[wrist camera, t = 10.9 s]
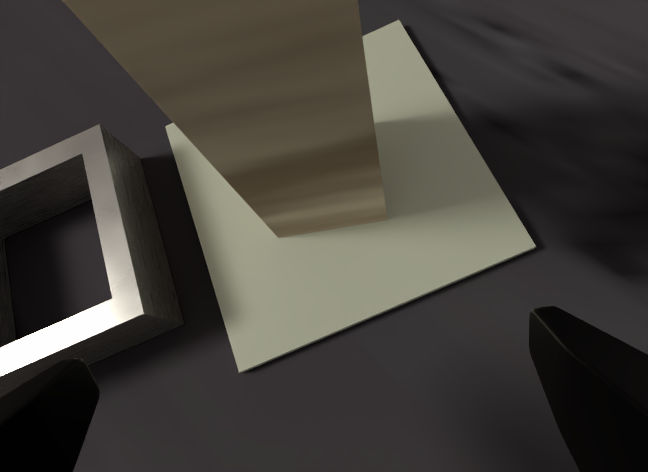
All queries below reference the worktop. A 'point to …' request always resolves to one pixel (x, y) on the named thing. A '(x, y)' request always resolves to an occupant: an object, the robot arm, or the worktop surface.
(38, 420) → the robot arm
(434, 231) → the mat
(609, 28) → the worktop surface
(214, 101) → the block
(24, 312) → the worktop surface
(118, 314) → the collar
